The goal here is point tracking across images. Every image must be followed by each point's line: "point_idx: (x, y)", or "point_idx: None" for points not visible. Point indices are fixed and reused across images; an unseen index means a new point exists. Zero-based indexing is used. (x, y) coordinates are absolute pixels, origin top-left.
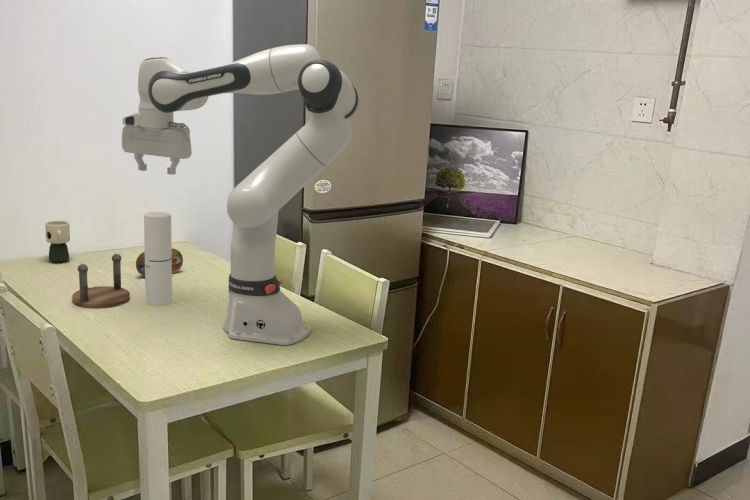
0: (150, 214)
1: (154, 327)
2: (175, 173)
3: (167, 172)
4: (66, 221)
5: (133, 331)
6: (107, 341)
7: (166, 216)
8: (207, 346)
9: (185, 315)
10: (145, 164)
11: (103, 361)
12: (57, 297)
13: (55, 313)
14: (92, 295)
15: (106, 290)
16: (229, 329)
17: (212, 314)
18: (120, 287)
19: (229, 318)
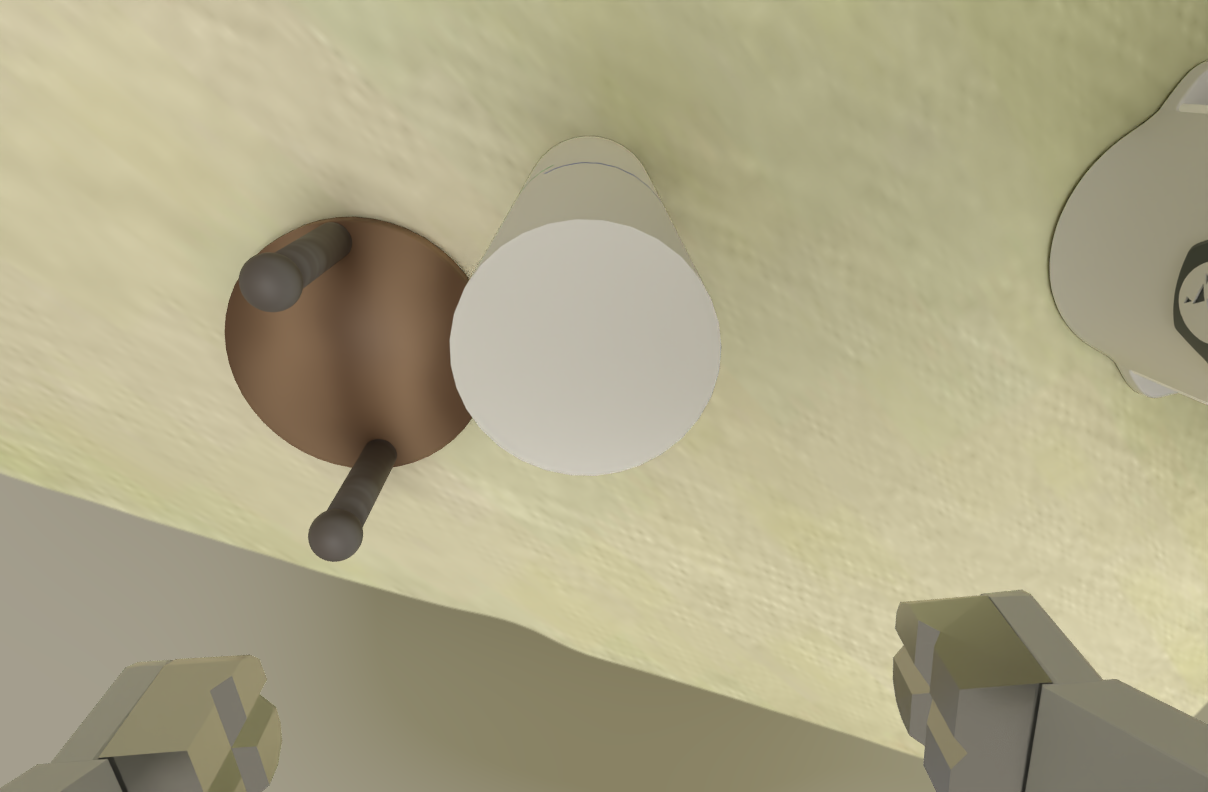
0: (535, 400)
1: (801, 459)
2: (1023, 595)
3: (911, 724)
4: None
5: (761, 527)
6: (749, 628)
7: (716, 368)
8: (1086, 489)
9: (825, 285)
10: (204, 781)
11: (849, 723)
12: (201, 431)
13: (380, 554)
14: (342, 386)
15: (322, 296)
16: (1131, 369)
17: (928, 202)
18: (348, 238)
19: (1153, 373)
